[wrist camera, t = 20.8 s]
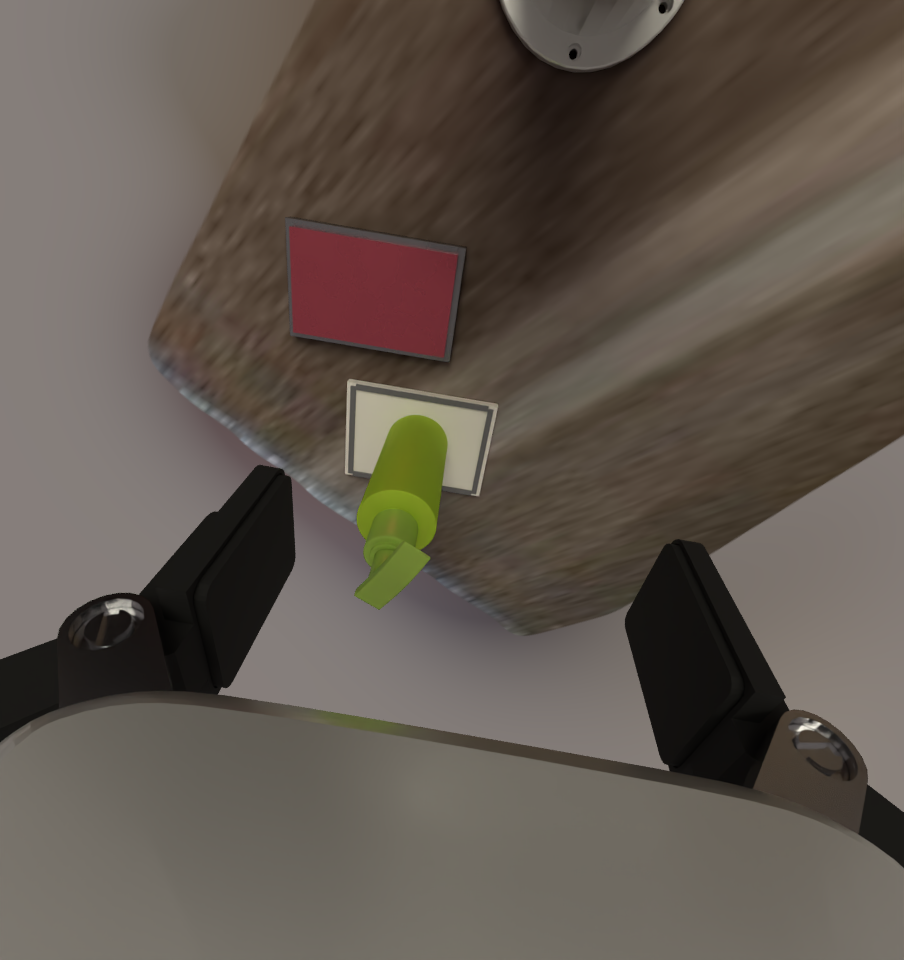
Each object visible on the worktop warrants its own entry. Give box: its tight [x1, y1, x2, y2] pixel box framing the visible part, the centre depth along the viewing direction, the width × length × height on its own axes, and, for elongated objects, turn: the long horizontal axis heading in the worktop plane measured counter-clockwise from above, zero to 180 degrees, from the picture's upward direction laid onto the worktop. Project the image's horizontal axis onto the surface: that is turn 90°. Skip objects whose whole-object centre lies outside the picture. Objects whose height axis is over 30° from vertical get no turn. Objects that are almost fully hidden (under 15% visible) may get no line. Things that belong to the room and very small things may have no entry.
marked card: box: [345, 379, 498, 496], centre depth 45 cm, size 10×14×1 cm
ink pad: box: [285, 217, 467, 362], centre depth 38 cm, size 9×14×2 cm, turn 82°
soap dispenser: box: [354, 415, 448, 610], centre depth 36 cm, size 6×7×20 cm
